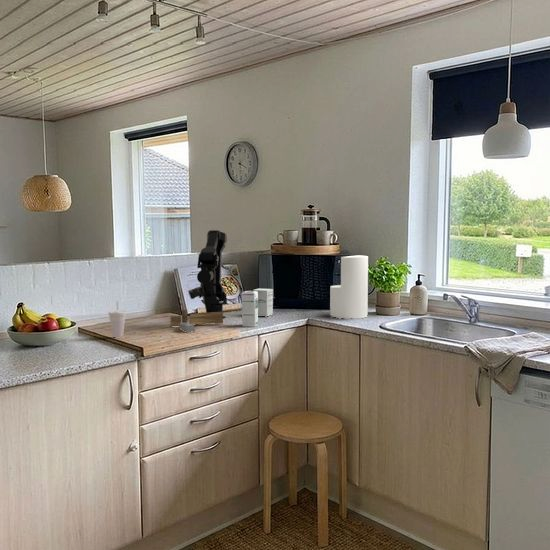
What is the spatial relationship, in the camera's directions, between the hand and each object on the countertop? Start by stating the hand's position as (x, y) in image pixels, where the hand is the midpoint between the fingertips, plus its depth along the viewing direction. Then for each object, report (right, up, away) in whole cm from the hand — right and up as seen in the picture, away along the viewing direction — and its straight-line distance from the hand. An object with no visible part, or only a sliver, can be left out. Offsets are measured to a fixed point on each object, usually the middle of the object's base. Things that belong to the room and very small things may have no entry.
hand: (208, 317), depth 241 cm
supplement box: (+23, -1, +23) cm, 33 cm away
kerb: (-7, -4, -15) cm, 17 cm away
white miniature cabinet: (+18, -4, -3) cm, 19 cm away
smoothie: (-31, -6, -28) cm, 42 cm away
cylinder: (+63, -2, +21) cm, 66 cm away
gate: (-1, -3, -2) cm, 4 cm away
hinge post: (-11, -4, -7) cm, 14 cm away
